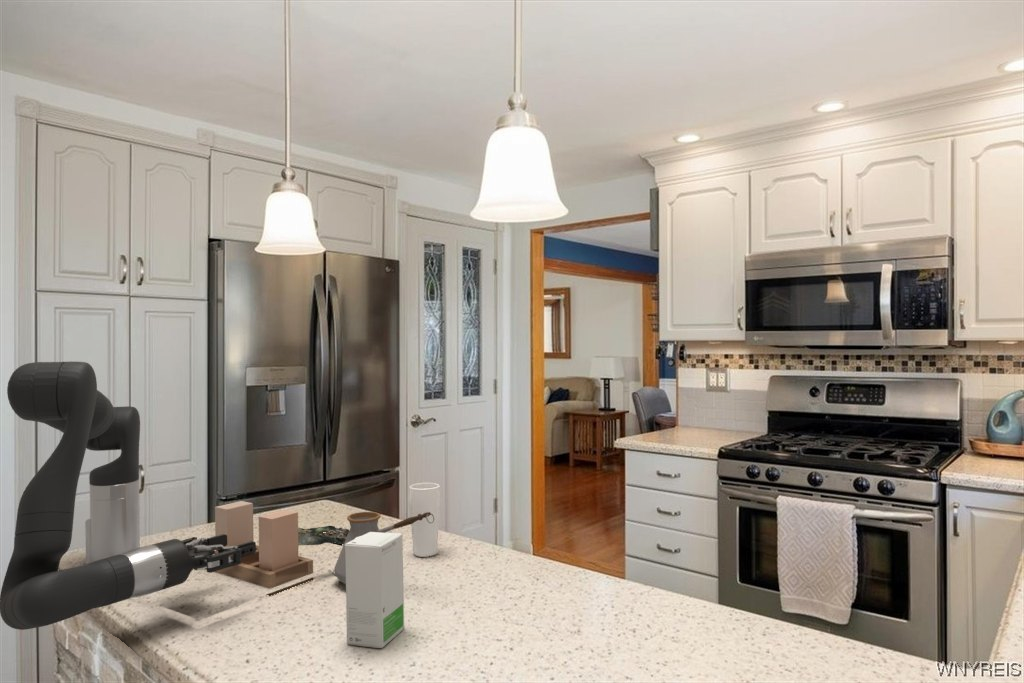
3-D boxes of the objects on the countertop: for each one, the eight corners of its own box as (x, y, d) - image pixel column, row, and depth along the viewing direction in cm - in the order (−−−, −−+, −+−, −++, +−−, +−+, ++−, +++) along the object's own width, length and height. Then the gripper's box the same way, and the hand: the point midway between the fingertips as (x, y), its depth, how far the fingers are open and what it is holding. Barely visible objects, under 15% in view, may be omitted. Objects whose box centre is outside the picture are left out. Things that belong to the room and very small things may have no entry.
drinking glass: (447, 552, 149) (446, 484, 149) (427, 561, 143) (426, 490, 143) (423, 547, 153) (422, 481, 152) (403, 555, 147) (402, 486, 147)
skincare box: (381, 650, 102) (380, 547, 102) (343, 645, 104) (341, 544, 104) (406, 627, 110) (405, 532, 110) (369, 623, 112) (368, 529, 112)
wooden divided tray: (201, 574, 136) (200, 554, 136) (244, 560, 145) (244, 542, 145) (269, 596, 124) (269, 574, 124) (313, 580, 132) (313, 559, 132)
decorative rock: (322, 513, 170) (368, 515, 163) (323, 537, 170) (368, 541, 162) (261, 526, 154) (308, 529, 146) (261, 553, 153) (309, 558, 146)
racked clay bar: (215, 566, 137) (215, 507, 137) (242, 557, 142) (241, 500, 142) (227, 569, 135) (226, 509, 135) (253, 561, 140) (253, 503, 140)
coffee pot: (321, 587, 128) (320, 508, 128) (359, 568, 139) (358, 495, 139) (416, 604, 119) (415, 520, 119) (449, 583, 130) (448, 505, 130)
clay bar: (259, 579, 129) (258, 516, 129) (285, 569, 134) (284, 509, 134) (272, 582, 127) (271, 519, 127) (298, 573, 132) (297, 512, 132)
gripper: (176, 552, 106) (264, 528, 120) (128, 538, 114) (216, 517, 127) (176, 600, 106) (265, 570, 120) (129, 583, 114) (217, 557, 127)
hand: (240, 543), depth 123 cm, fingers open, 8 cm apart
